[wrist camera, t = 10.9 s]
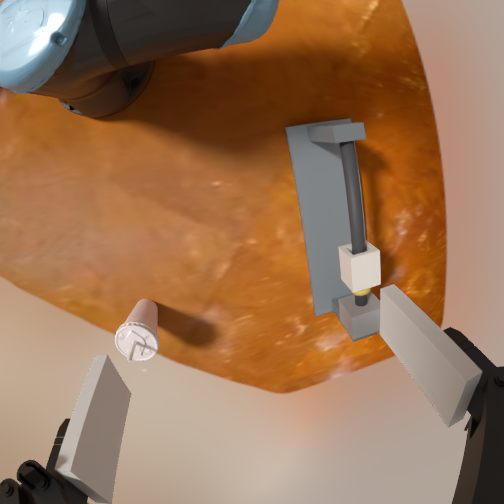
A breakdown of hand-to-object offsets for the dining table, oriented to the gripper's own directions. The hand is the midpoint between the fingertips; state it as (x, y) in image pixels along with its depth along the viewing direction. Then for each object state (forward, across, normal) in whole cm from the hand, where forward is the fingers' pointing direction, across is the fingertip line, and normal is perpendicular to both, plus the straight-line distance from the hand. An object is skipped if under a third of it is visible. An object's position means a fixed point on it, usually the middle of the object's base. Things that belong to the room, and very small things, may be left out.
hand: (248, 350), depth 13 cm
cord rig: (+33, +16, -7) cm, 37 cm away
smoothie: (+33, -16, -14) cm, 39 cm away
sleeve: (+26, +16, -11) cm, 32 cm away
